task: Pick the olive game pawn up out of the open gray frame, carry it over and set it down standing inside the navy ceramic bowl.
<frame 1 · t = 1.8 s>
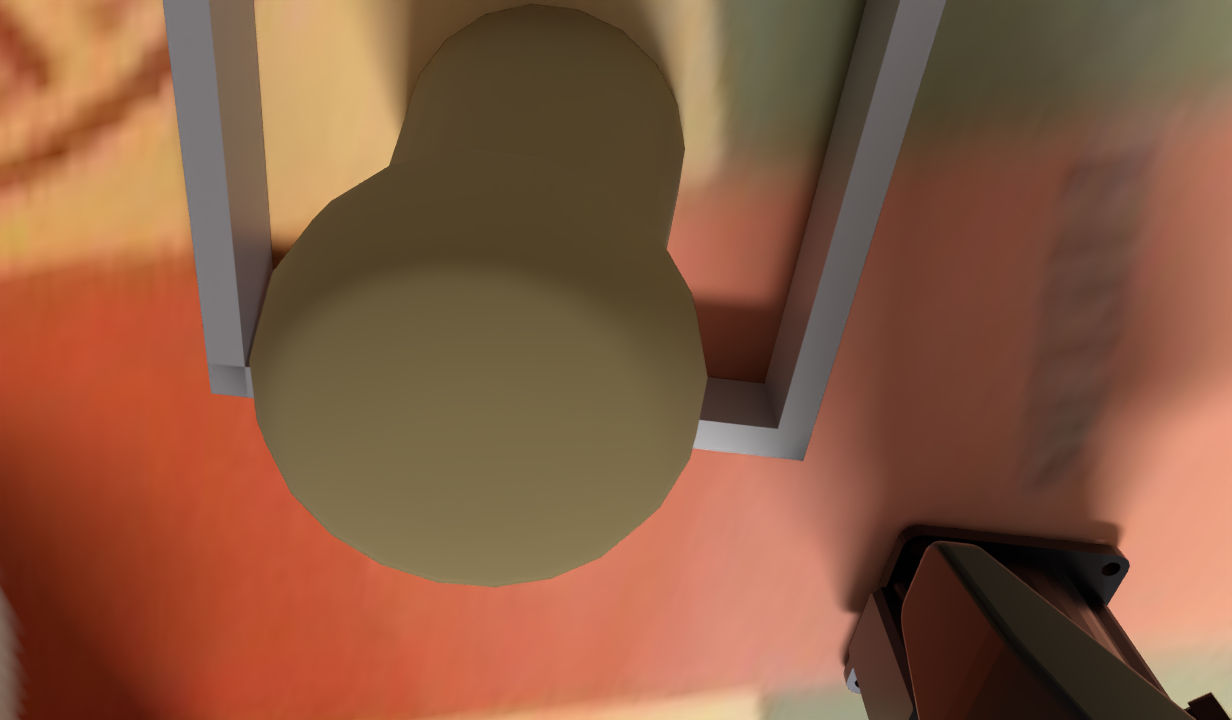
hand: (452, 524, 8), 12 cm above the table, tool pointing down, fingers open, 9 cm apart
open gray frame: (544, 155, 18), on the table
olive game pawn: (545, 152, 18), resting in open gray frame
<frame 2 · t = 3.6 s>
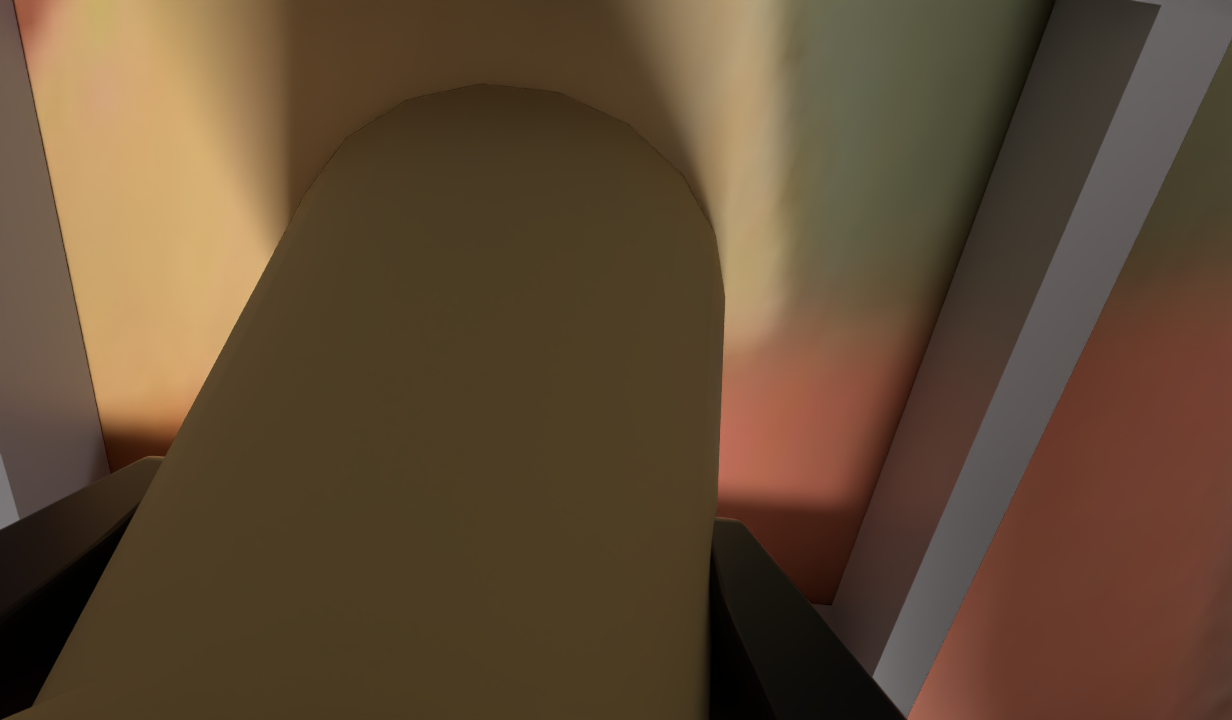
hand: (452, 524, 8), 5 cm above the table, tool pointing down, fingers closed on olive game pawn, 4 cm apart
open gray frame: (508, 307, 12), on the table
olive game pawn: (510, 300, 12), resting in open gray frame, touching gripper
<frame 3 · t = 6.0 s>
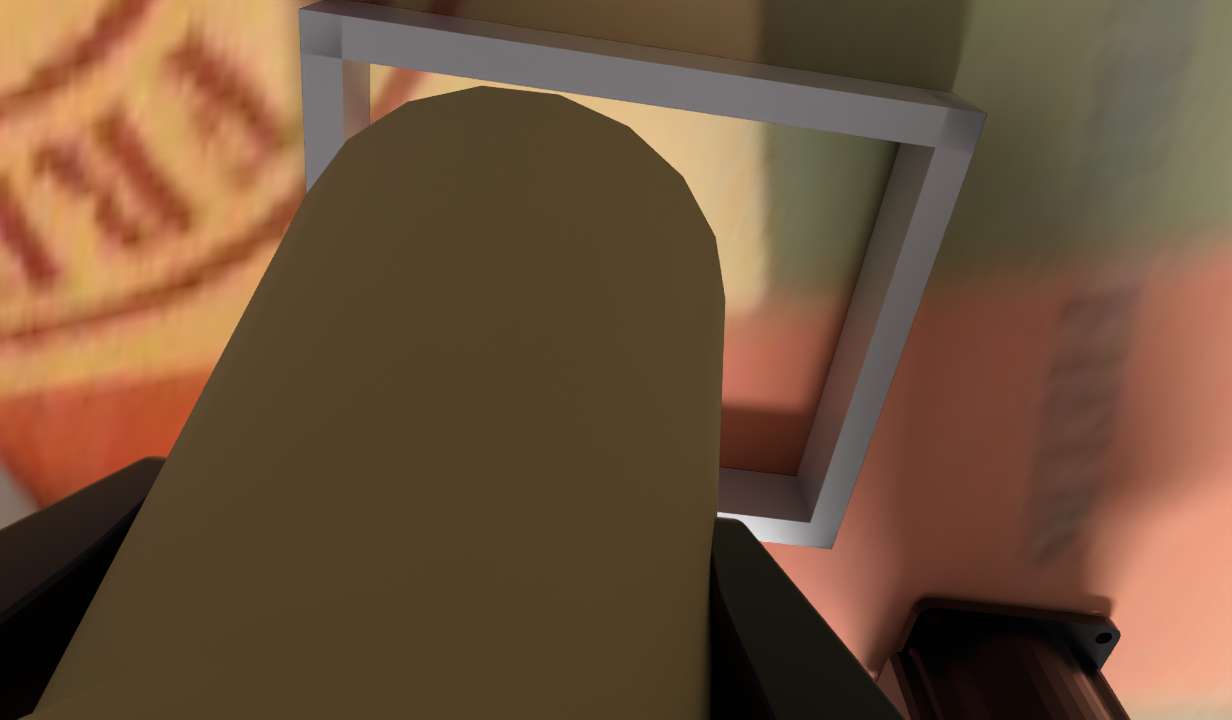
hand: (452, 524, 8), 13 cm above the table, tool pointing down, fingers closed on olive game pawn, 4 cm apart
open gray frame: (611, 289, 21), on the table
olive game pawn: (510, 302, 12), point 8 cm above the table, touching gripper
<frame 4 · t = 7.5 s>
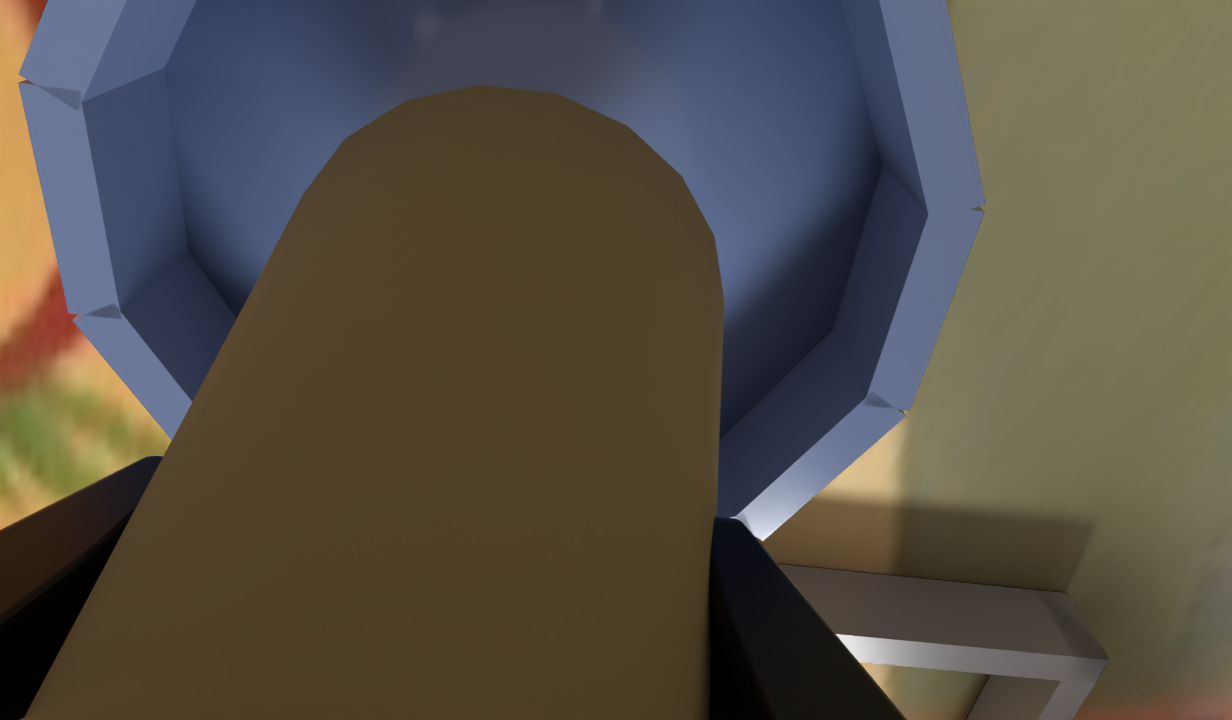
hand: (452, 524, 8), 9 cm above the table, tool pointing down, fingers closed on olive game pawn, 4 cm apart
bowl: (529, 198, 15), on the table
olive game pawn: (508, 302, 12), point 4 cm above the table, touching gripper
when the fingers open (6 cm above the table, at t = 8.7 s): olive game pawn stays where it is, resting on bowl.
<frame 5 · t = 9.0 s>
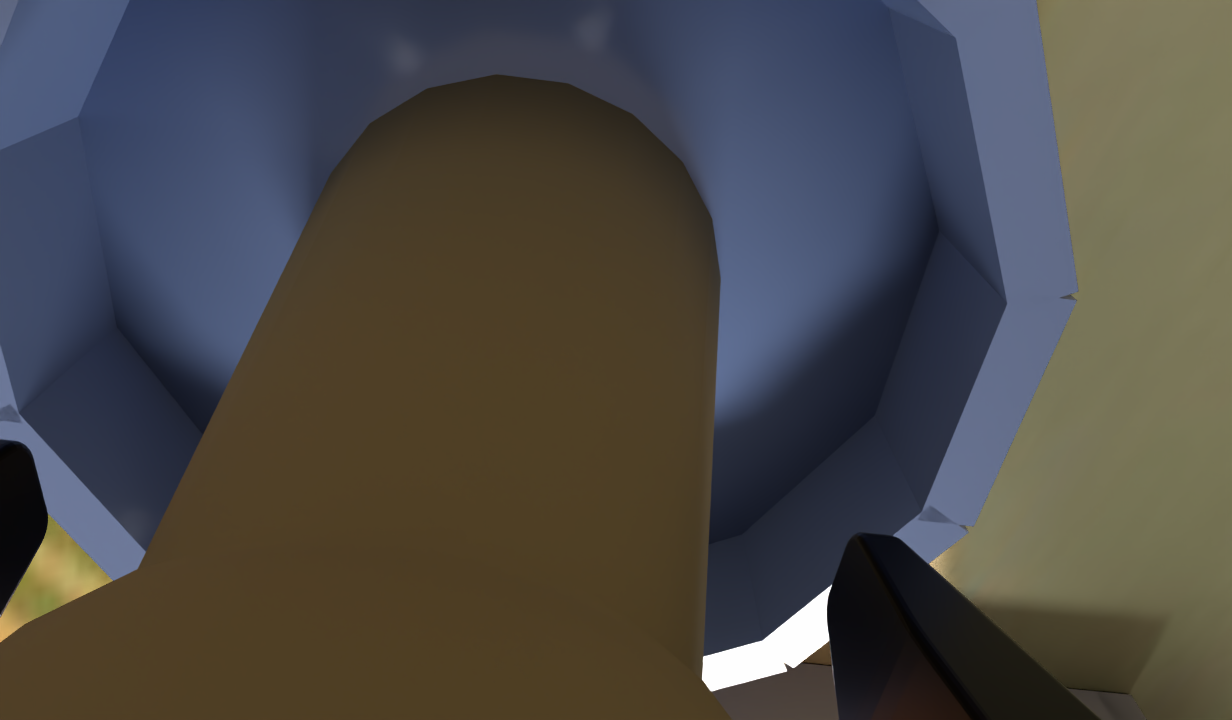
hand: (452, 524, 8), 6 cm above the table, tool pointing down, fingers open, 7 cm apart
bowl: (518, 264, 13), on the table
olive game pawn: (519, 279, 13), resting on bowl
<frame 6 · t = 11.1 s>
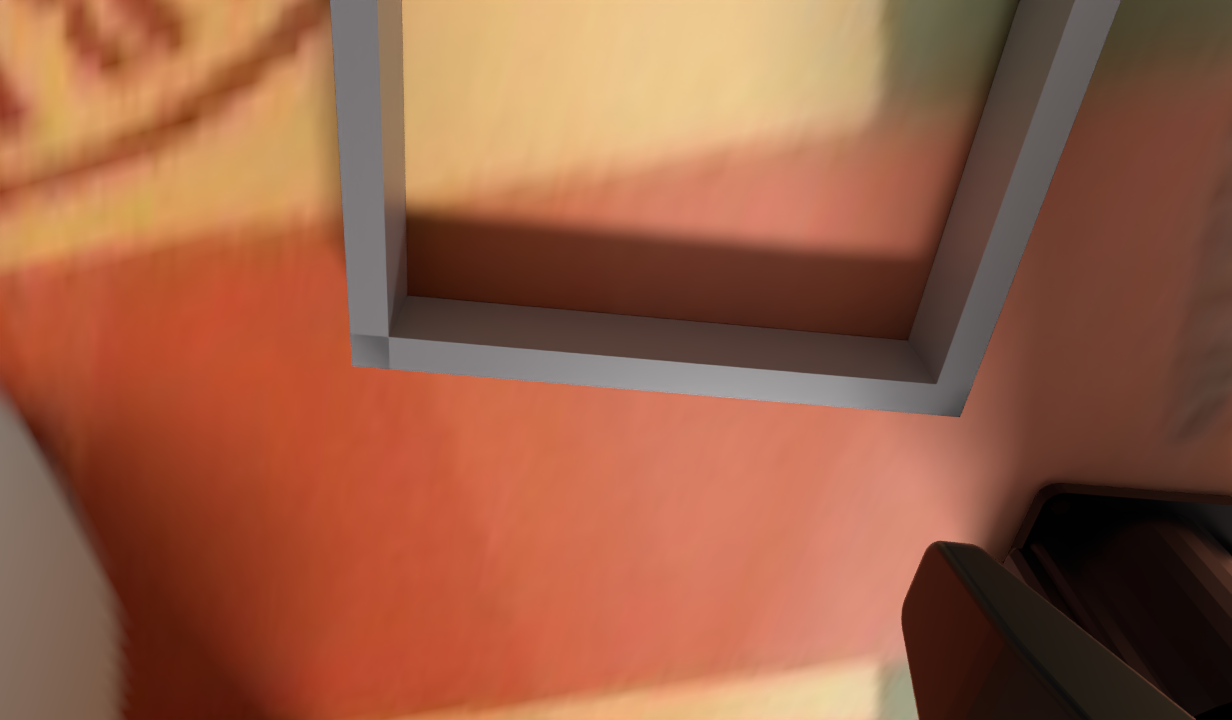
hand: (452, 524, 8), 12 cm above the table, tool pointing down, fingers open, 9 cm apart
open gray frame: (696, 105, 17), on the table
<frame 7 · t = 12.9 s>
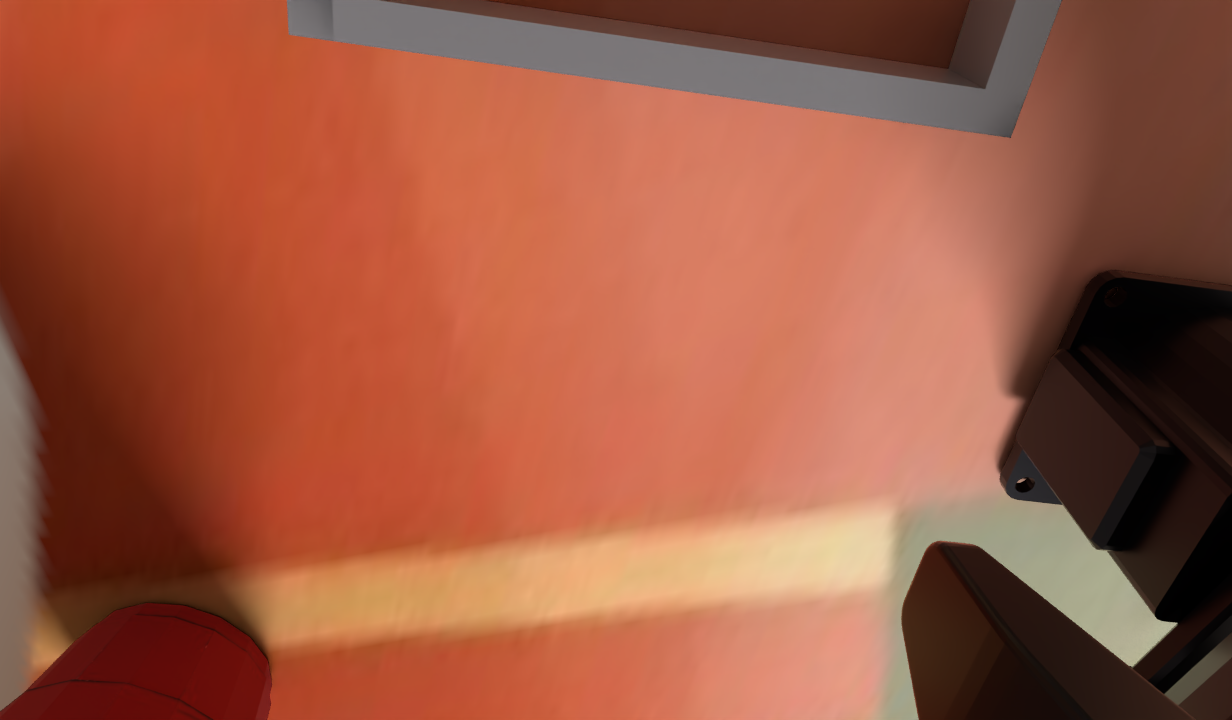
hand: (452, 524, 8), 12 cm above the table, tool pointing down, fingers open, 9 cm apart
plastic cup: (184, 665, 26), on the table
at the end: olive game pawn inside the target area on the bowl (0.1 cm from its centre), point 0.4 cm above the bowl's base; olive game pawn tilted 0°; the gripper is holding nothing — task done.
